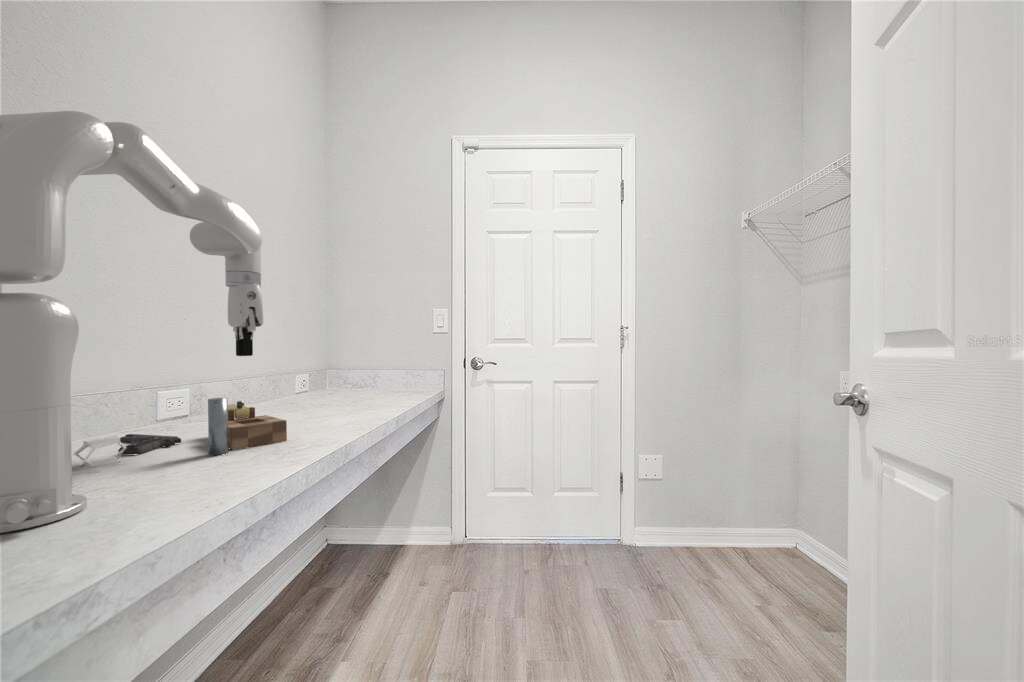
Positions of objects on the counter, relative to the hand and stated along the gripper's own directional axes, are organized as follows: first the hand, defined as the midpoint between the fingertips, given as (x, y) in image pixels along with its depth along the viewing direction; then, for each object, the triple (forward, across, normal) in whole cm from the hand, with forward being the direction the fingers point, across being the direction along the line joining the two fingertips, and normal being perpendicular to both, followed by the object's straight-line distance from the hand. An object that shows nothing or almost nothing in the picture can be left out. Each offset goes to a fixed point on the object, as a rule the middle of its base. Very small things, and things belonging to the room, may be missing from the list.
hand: (244, 355), depth 113 cm
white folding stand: (+21, 0, +27) cm, 34 cm away
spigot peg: (+21, -9, +9) cm, 24 cm away
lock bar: (+15, +7, 0) cm, 17 cm away
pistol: (+22, +14, +19) cm, 32 cm away
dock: (+21, -2, 0) cm, 21 cm away
